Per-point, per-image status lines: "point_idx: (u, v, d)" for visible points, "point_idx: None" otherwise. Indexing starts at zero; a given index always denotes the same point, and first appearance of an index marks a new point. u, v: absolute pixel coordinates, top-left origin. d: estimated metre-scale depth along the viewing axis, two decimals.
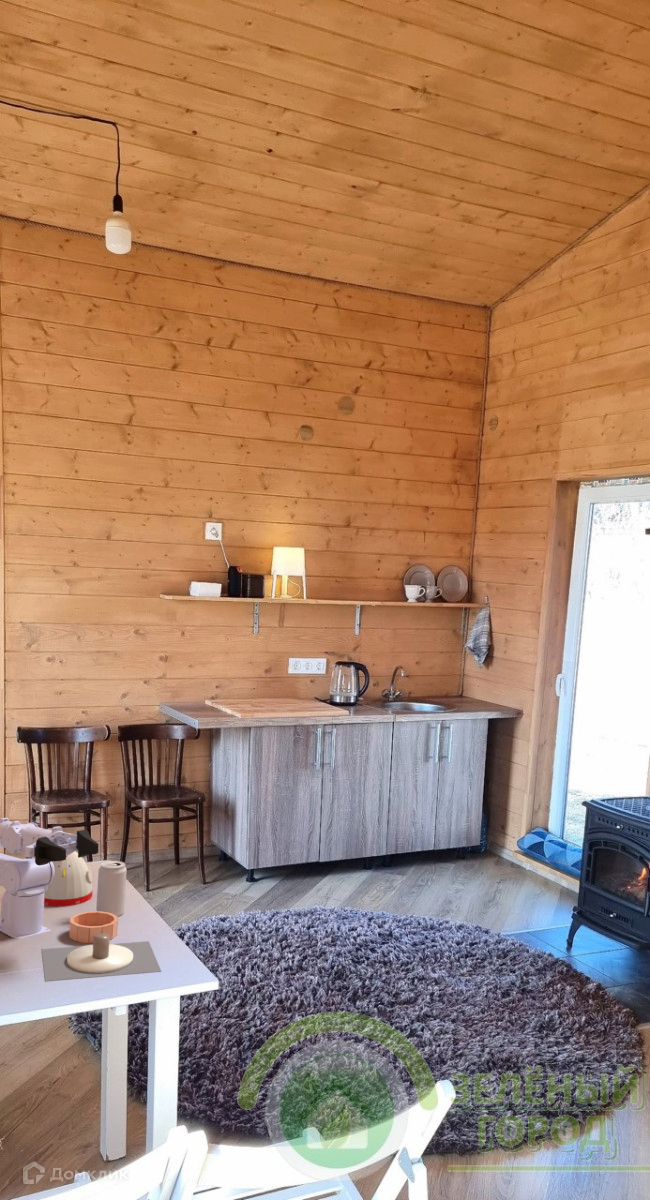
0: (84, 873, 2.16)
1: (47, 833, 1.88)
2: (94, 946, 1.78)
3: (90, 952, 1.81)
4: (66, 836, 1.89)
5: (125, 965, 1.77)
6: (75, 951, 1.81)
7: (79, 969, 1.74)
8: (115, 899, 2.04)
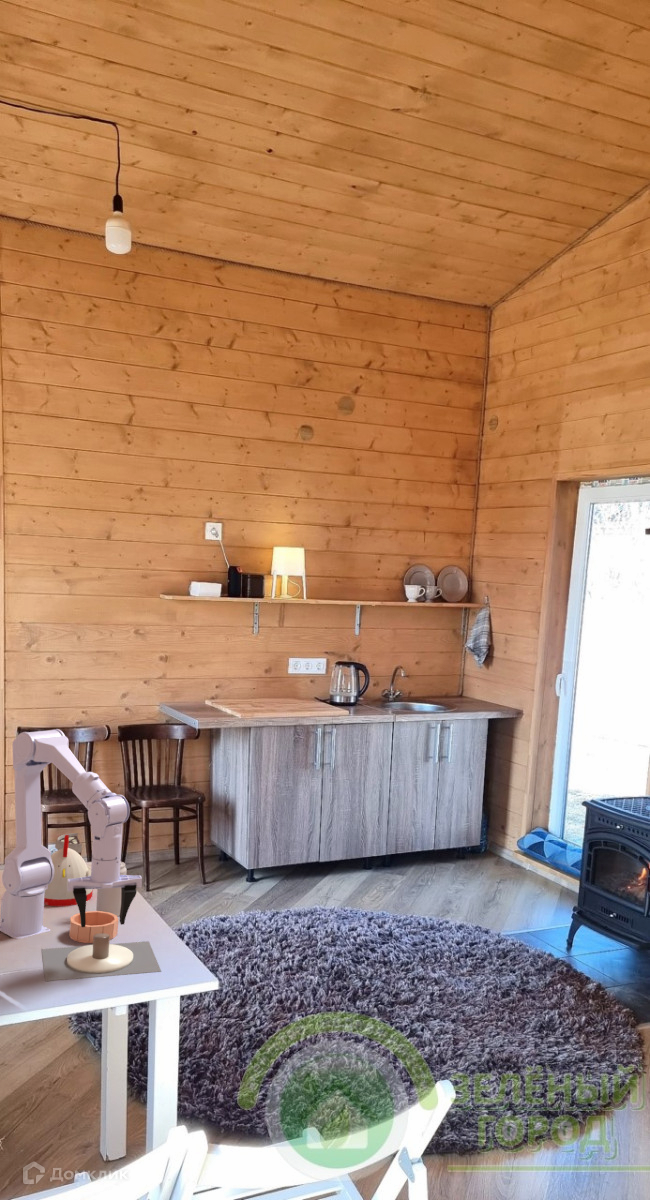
0: (84, 873, 2.16)
1: (101, 874, 1.77)
2: (94, 946, 1.78)
3: (90, 952, 1.81)
4: None
5: (125, 965, 1.77)
6: (75, 951, 1.81)
7: (79, 969, 1.74)
8: (114, 899, 2.04)
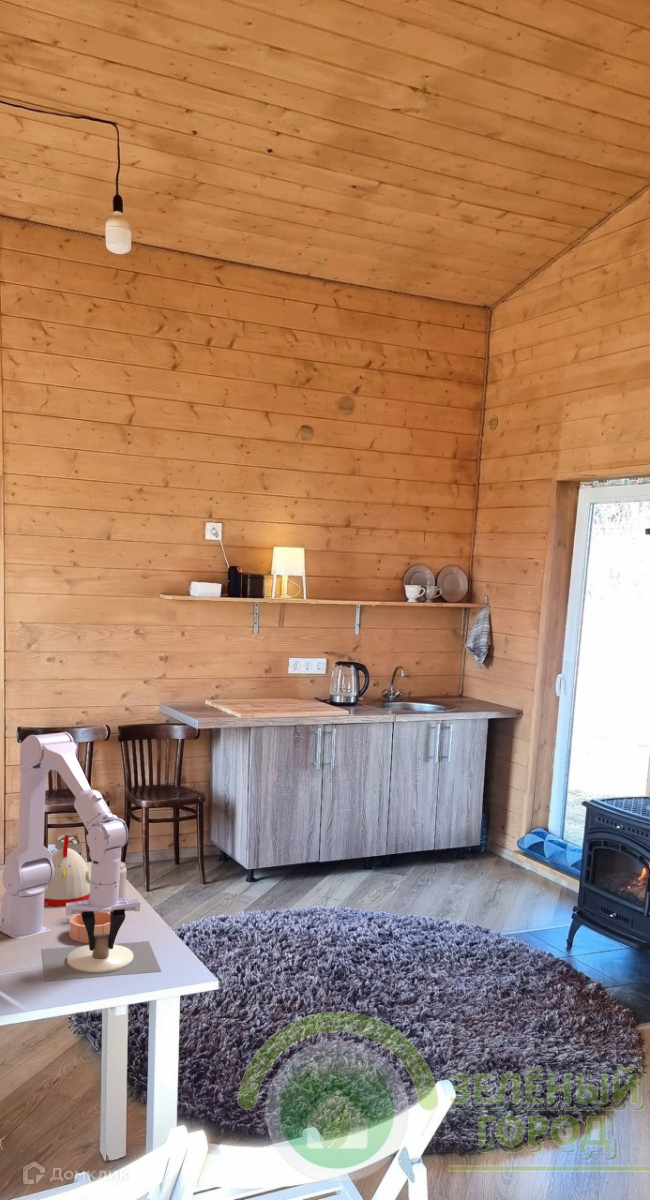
0: (84, 873, 2.16)
1: (99, 898, 1.77)
2: (94, 946, 1.78)
3: (90, 952, 1.81)
4: None
5: (125, 965, 1.77)
6: (75, 951, 1.81)
7: (79, 969, 1.74)
8: None
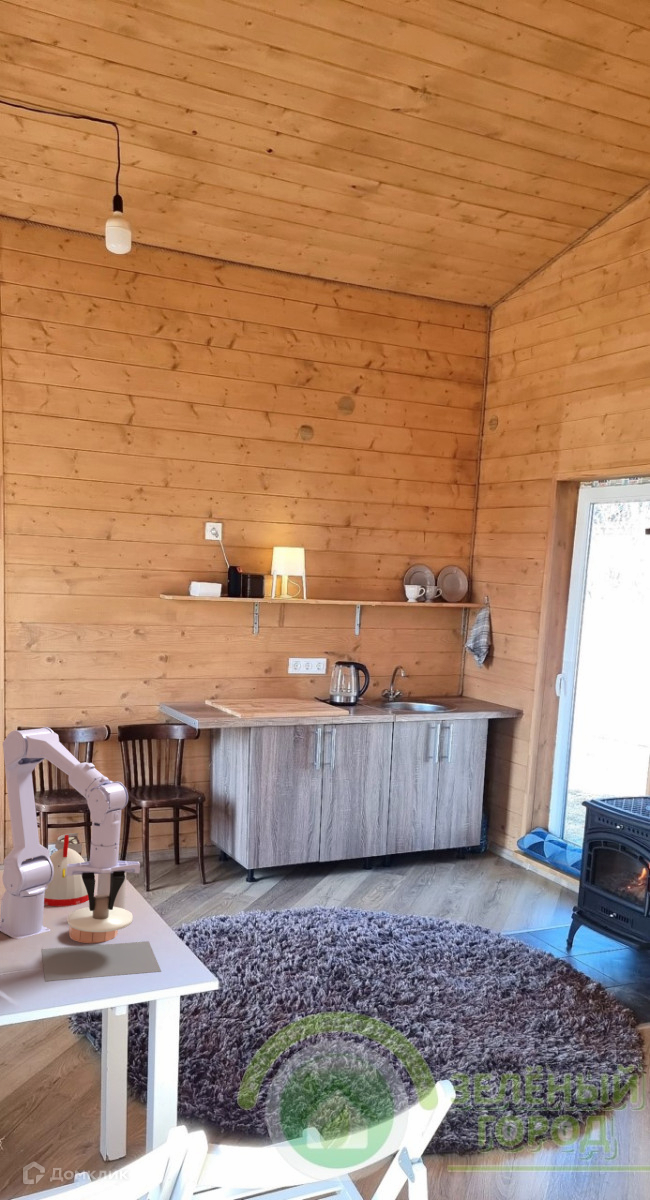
0: None
1: (100, 859, 1.80)
2: (94, 906, 1.81)
3: (90, 913, 1.84)
4: None
5: (125, 925, 1.79)
6: (76, 912, 1.84)
7: (79, 928, 1.77)
8: None
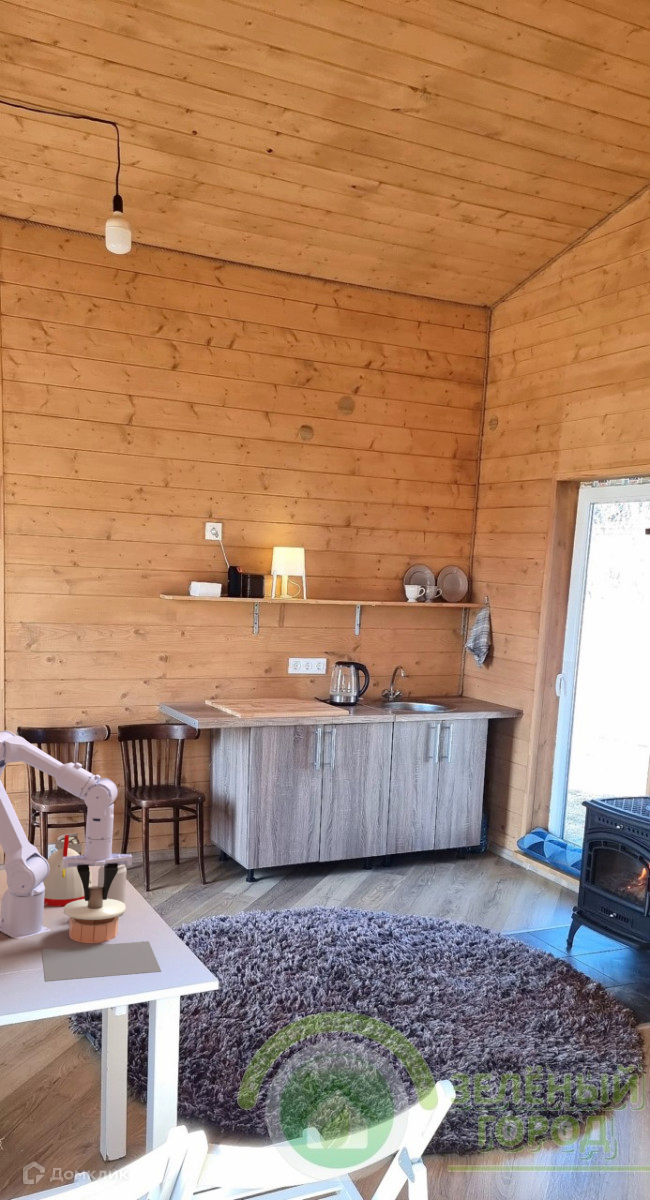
0: None
1: (94, 852, 1.91)
2: (89, 897, 1.92)
3: (85, 904, 1.95)
4: None
5: (118, 913, 1.90)
6: (71, 903, 1.95)
7: (75, 916, 1.87)
8: (114, 899, 2.04)
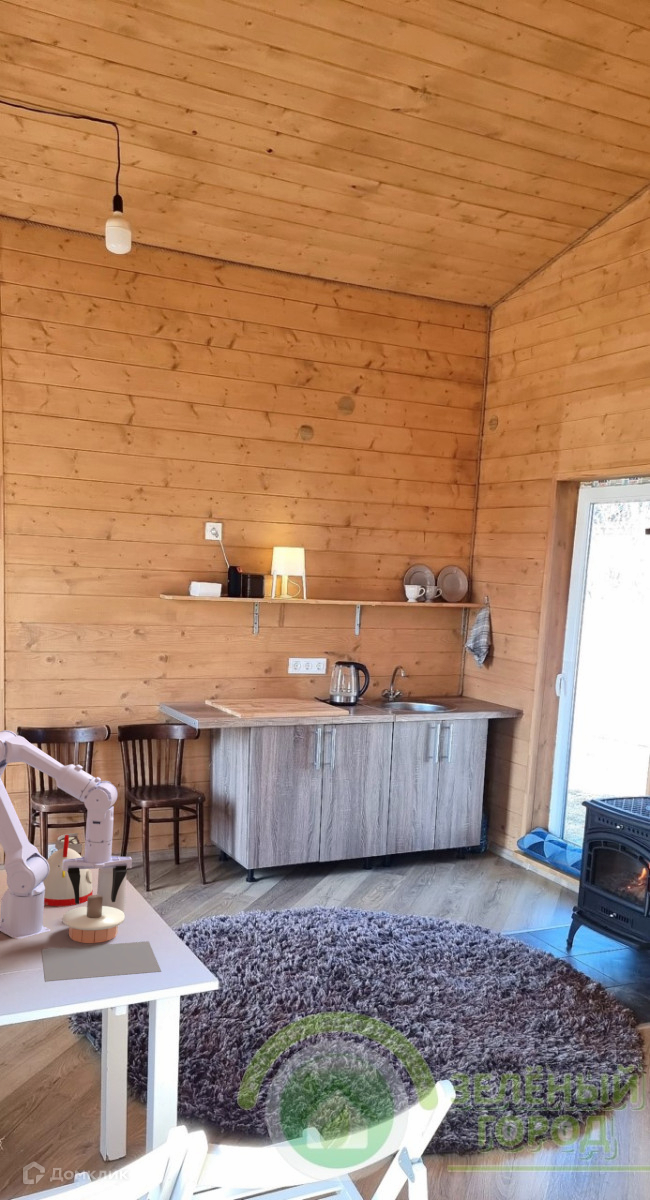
0: (84, 873, 2.16)
1: (94, 855, 1.91)
2: (88, 906, 1.92)
3: (84, 912, 1.95)
4: None
5: (117, 923, 1.90)
6: (70, 911, 1.95)
7: (74, 926, 1.87)
8: None
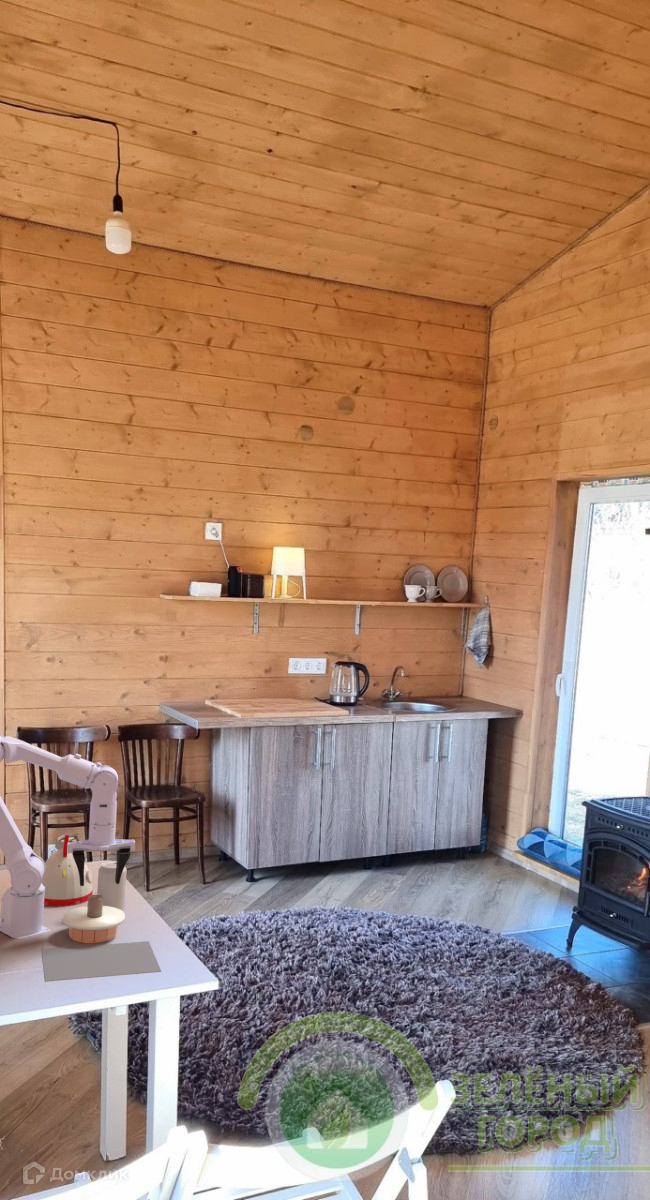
0: (84, 873, 2.16)
1: (98, 837, 1.94)
2: (88, 906, 1.92)
3: (85, 912, 1.95)
4: None
5: (117, 923, 1.90)
6: (71, 911, 1.95)
7: (74, 926, 1.87)
8: (114, 899, 2.04)
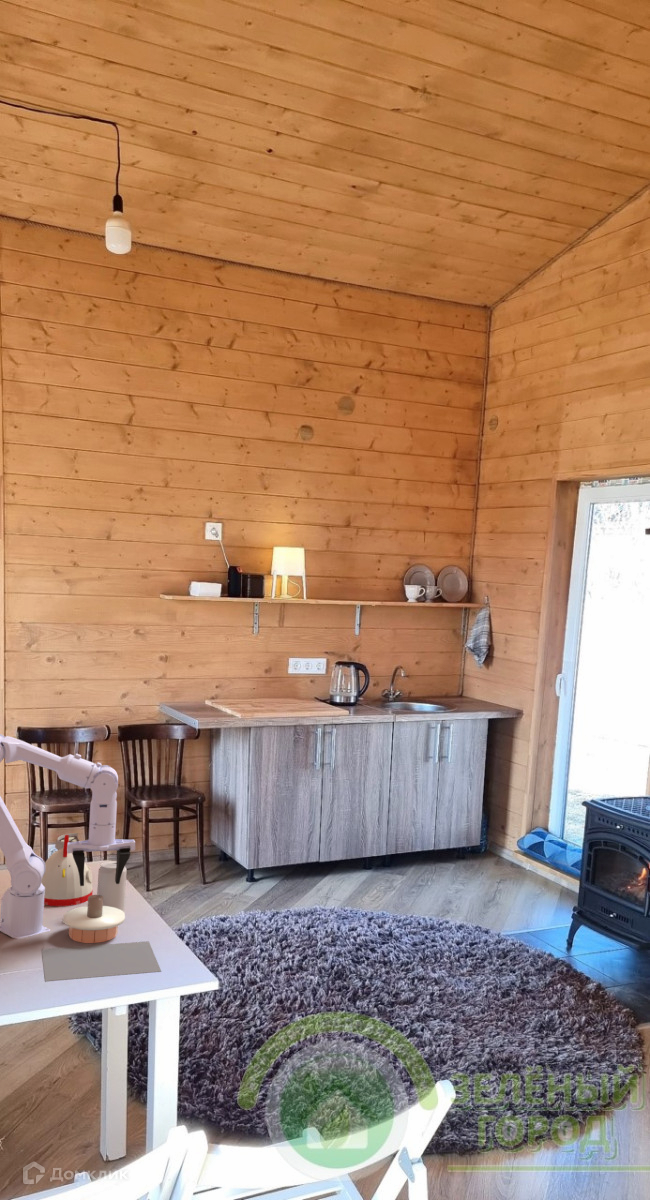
0: (84, 873, 2.16)
1: (98, 837, 1.94)
2: (88, 906, 1.92)
3: (85, 912, 1.95)
4: None
5: (117, 923, 1.90)
6: (71, 911, 1.95)
7: (74, 926, 1.87)
8: (114, 899, 2.04)
